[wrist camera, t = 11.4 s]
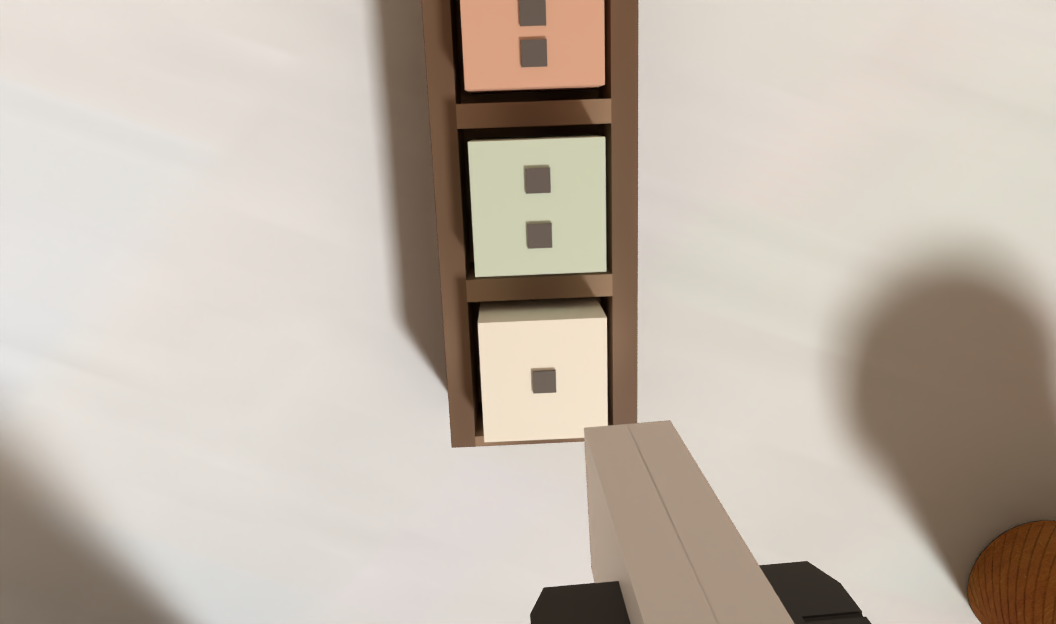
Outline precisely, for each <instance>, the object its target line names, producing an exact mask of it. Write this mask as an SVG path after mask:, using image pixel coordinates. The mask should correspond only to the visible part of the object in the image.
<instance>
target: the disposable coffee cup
mask: <svg viewBox="0 0 1056 624" xmlns="http://www.w3.org/2000/svg"><path fill="white" fill-rule="evenodd" d="M968 598H969V601H970V605H971V608H972V610H973V612H974V614H975V616H976V617H977V618H978V620H979V621H980V622H981V624H1056V521H1036V522H1031V523H1026V524H1023V525H1020V526H1018V527H1015V528H1013V529H1011V530H1009V531H1007V532H1005V533H1004V534H1002V535H1001V536H999V537H998V538H997V539H995V540H994V541H993V542H991V543H990V545H989V546H988V547H987V548H986V549H985V550H984V551H983V552H982V554H981V555H980V556H979V558H978V560H977V561H976V563H975V565H974V566H973V569H972V571H971V574H970V578H969V583H968Z"/></svg>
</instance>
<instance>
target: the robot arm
mask: <svg viewBox="0 0 1056 624" xmlns="http://www.w3.org/2000/svg"><path fill="white" fill-rule="evenodd" d="M584 441H585V460H586V478H587V497H588V515H589V533H590V552H591V568H592V573H593V577H594V582H595V583H590V584H579V585H568V586H557V587H545V588H543V590H542V592H541V594H540V596H539V598H538V600H537V602H536V604H535V606H534V608H533V610H532V612H531V614H530V618H531V624H871V623H870V621H869V620H868V619H867V617H863V616H862V611H861V610H860V608H859V607H858V606H857V604H856V603H855V602H854V600H853V599H852V598H851V596H850V595H849V594H848V593H847V591H846V590H845V589H844V587H843V586H842V585H841V583H839V582H838V581H836V580H835V579H833V578H832V577H830V576H829V575H827V574H826V573H824V572H823V571H821V570H820V569H818V568H817V567H815V566H814V565H812V564H811V563H809V562H808V561H804V562H792V563H781V564H770V565H758V563H757V561H756V560H755V558H754V557H753V555H752V553H751V552H750V550H749V548H748V547H747V545H746V544H745V542H744V540H743V539H742V537H741V535H740V534H739V532H738V530H737V529H736V527H735V526H734V524H733V522H732V521H731V519H730V517H729V516H728V514H727V512H726V511H725V509H724V508H723V506H722V504H721V503H720V501H719V499H718V498H717V496H716V494H715V493H714V491H713V490H712V488H711V486H710V485H709V483H708V481H707V480H706V478H705V476H704V475H703V473H702V472H701V470H700V468H699V467H698V465H697V463H696V462H695V460H694V459H693V457H692V455H691V454H690V452H689V450H688V449H687V447H686V445H685V444H684V442H683V441H682V439H681V437H680V436H679V434H678V432H677V431H676V429H675V427H674V426H673V424H672V423H671V421H658V422H646V423H634V424H622V425H610V426H598V427H586V428H584Z"/></svg>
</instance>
